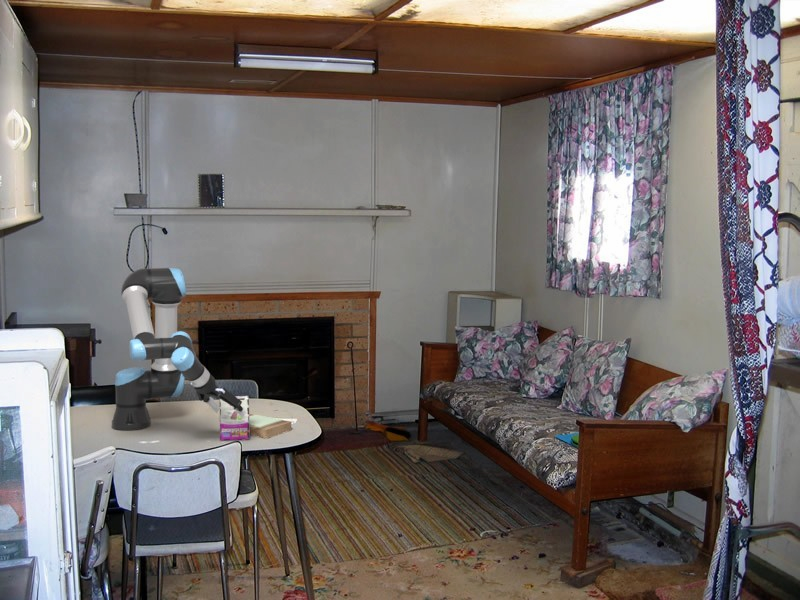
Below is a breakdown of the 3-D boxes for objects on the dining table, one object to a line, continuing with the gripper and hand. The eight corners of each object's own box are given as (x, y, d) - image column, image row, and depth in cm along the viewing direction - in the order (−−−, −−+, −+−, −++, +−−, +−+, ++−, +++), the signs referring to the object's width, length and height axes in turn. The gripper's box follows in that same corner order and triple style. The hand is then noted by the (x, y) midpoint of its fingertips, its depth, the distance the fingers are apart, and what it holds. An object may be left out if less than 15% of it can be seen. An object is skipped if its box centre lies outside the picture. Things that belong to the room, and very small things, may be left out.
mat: (233, 422, 339) (233, 421, 339) (255, 415, 350) (255, 414, 349) (260, 427, 331) (260, 426, 331) (282, 420, 342) (282, 419, 342)
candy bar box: (249, 436, 331) (249, 395, 329) (249, 440, 326) (249, 398, 325) (220, 437, 330) (220, 396, 328) (219, 440, 325) (219, 398, 323)
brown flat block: (224, 429, 340) (224, 421, 340) (250, 422, 353) (250, 413, 352) (266, 438, 329) (266, 429, 328) (291, 430, 341) (291, 421, 341)
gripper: (172, 383, 314) (202, 415, 328) (221, 392, 301) (250, 425, 315) (182, 367, 318) (212, 399, 332) (231, 375, 305) (260, 408, 319)
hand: (230, 412), depth 324 cm, fingers open, 13 cm apart
